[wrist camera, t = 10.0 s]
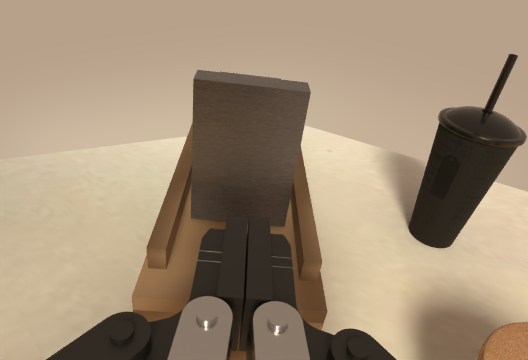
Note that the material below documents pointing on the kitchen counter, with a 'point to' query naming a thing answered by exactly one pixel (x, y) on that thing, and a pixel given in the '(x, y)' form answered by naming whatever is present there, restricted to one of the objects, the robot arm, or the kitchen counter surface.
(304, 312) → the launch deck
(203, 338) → the robot arm
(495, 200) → the kitchen counter surface
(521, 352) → the lidded jar
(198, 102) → the plunger
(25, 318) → the kitchen counter surface
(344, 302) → the kitchen counter surface
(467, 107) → the drinking cup
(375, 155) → the kitchen counter surface
